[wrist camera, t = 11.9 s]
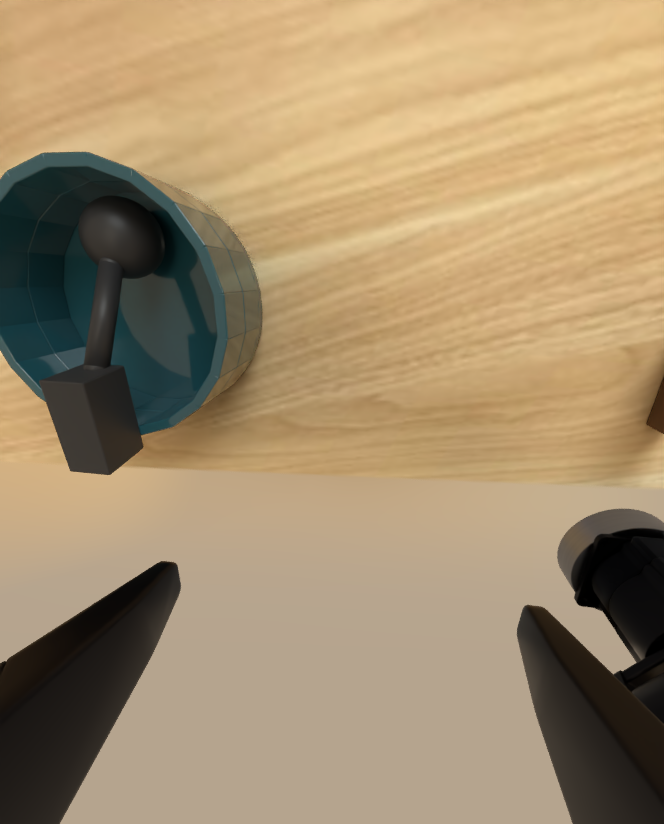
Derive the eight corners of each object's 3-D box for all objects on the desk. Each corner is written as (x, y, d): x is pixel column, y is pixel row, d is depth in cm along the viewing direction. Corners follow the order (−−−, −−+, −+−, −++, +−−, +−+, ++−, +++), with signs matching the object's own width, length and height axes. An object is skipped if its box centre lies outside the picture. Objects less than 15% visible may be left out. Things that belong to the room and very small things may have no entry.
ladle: (107, 200, 18) (-59, 170, 11) (172, 200, 18) (42, 169, 11) (151, 405, 23) (54, 470, 16) (203, 409, 22) (126, 477, 16)
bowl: (267, 408, 22) (236, 443, 17) (90, 396, 23) (18, 426, 19) (256, 183, 18) (211, 148, 13) (40, 185, 19) (-70, 154, 14)
